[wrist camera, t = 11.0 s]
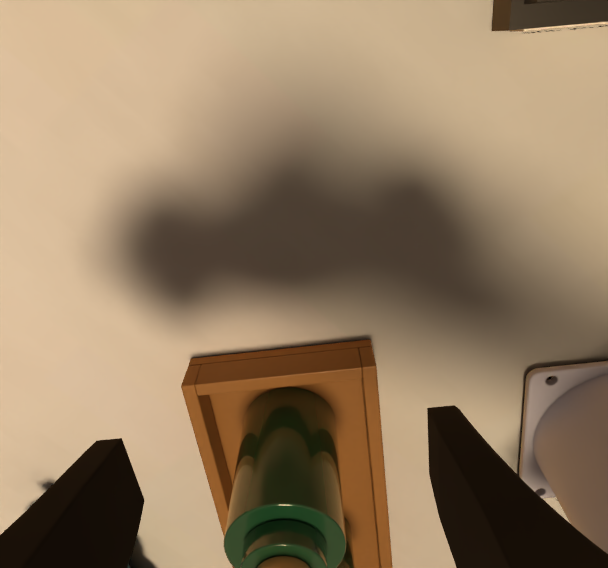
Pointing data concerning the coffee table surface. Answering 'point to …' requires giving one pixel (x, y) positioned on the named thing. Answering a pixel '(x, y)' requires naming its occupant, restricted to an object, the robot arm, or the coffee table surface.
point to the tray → (327, 384)
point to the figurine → (547, 14)
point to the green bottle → (287, 485)
